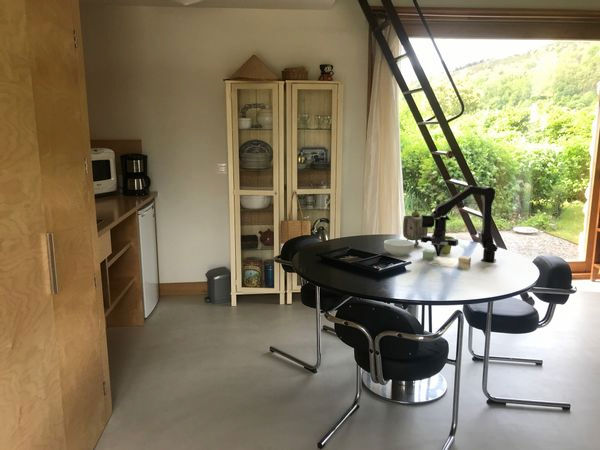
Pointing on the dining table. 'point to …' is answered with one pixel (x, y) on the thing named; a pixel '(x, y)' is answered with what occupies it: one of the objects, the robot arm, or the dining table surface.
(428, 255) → the translucent green block
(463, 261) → the cube
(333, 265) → the dining table surface
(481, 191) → the robot arm
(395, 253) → the cereal bowl
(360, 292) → the dining table surface
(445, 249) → the plant pot
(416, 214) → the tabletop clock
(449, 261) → the letter
